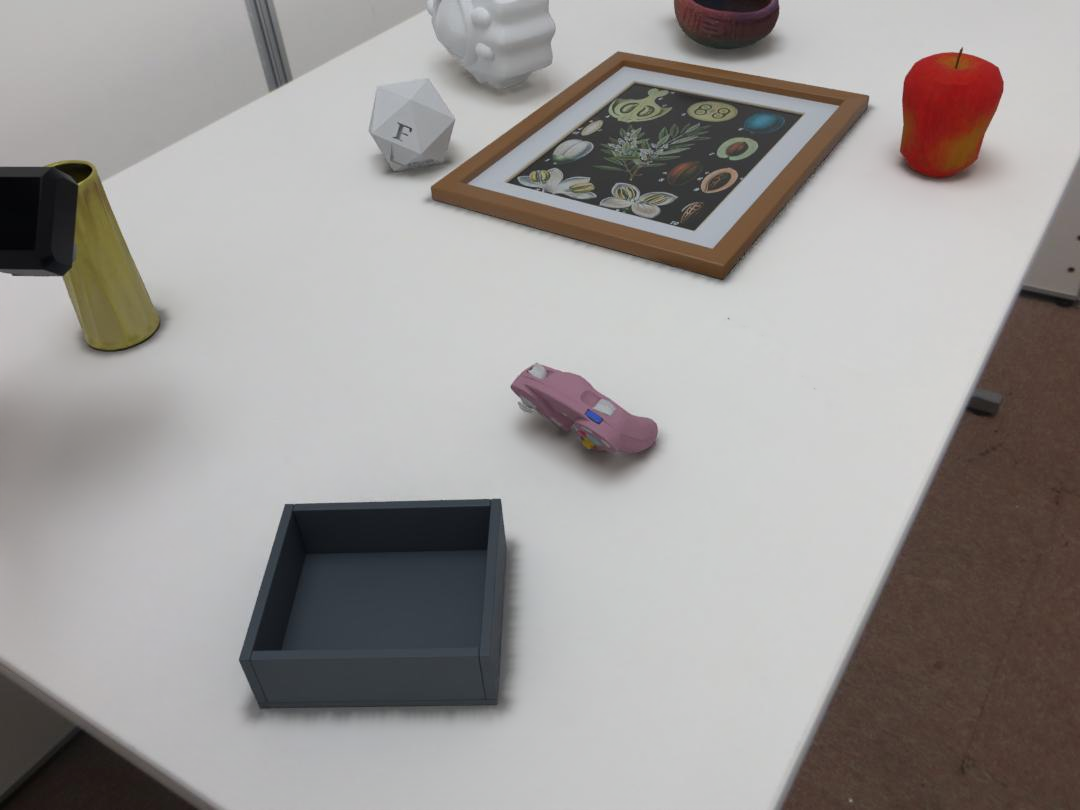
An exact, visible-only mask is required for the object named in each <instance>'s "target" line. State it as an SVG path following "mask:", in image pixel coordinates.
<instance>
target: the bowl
mask: <svg viewBox="0 0 1080 810" xmlns="http://www.w3.org/2000/svg"><path fill="white" fill-rule="evenodd" d="M673 9H674V15H675V19H676V21H677V24H678V26H679V27H680V29H681V31H682V32H683V33H684V34H685V36H686V37H688V38H689V39H690V40H691V41H693V42H694V43H696V44H698V45H701V46H703V47H707V48H713V49H716V50H717V49H718V50H727V51H728V50H735V49H740V48H741V49H742V48H746V47H748V46H751V45H755V44H756V43H758V42H761V40H764V39H765V38H766V37H767V36H769V34H771V33H772V31H773V30H774V28H775V27H776V24H777V22H778V19H779V16H780V9H781V8H780V0H673Z"/></svg>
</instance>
